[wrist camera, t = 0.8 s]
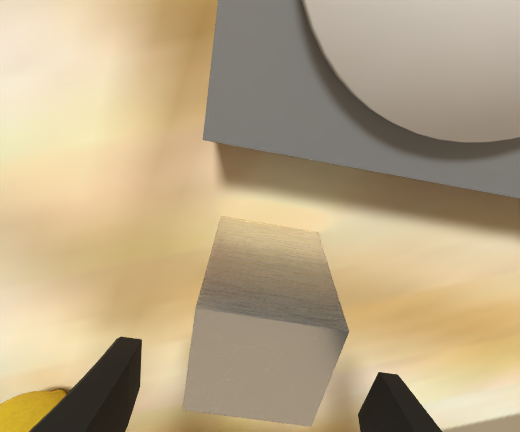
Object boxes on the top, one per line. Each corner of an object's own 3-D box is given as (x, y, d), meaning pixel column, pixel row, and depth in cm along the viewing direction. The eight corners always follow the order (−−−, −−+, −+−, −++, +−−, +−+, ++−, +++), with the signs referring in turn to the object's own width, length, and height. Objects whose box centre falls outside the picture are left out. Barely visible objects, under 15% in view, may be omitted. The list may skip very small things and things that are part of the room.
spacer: (317, 232, 15) (348, 331, 9) (295, 307, 17) (311, 426, 11) (221, 215, 15) (195, 308, 9) (209, 294, 16) (182, 410, 11)
